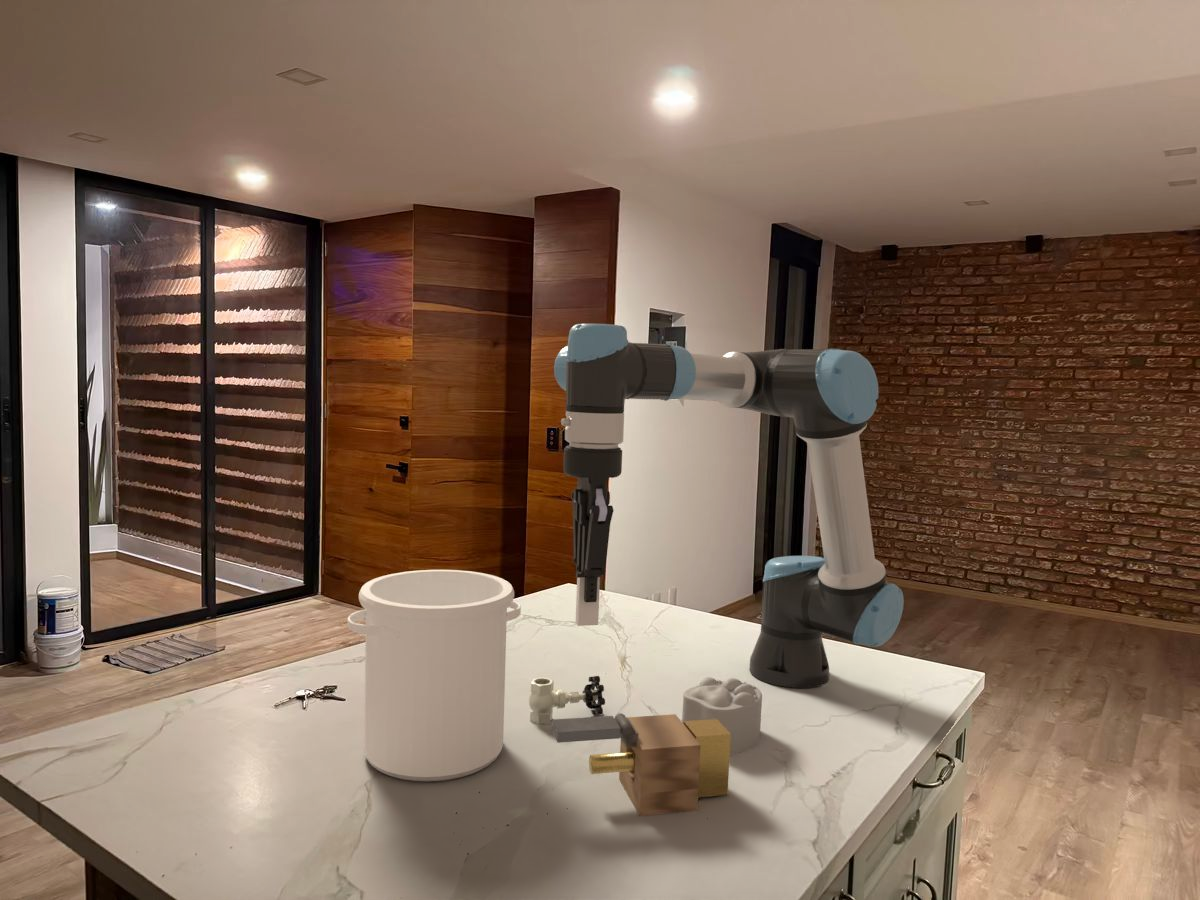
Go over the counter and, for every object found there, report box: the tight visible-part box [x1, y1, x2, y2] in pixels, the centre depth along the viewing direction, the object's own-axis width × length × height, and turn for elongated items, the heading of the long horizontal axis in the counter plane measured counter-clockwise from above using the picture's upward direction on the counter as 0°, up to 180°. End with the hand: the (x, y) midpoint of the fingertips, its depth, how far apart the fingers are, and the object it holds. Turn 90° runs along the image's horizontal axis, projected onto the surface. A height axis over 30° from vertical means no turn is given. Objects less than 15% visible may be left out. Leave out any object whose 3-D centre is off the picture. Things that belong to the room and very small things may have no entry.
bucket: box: [346, 569, 522, 783], centre depth 124 cm, size 26×22×25 cm
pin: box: [588, 719, 731, 798], centre depth 114 cm, size 19×5×9 cm, turn 104°
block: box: [614, 712, 701, 817], centre depth 114 cm, size 10×10×11 cm
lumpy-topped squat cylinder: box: [681, 676, 763, 756], centre depth 134 cm, size 10×13×9 cm
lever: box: [551, 715, 621, 743], centre depth 111 cm, size 8×4×1 cm, turn 104°
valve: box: [528, 675, 606, 725], centre depth 139 cm, size 7×7×12 cm
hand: (586, 623), depth 110 cm, fingers closed
